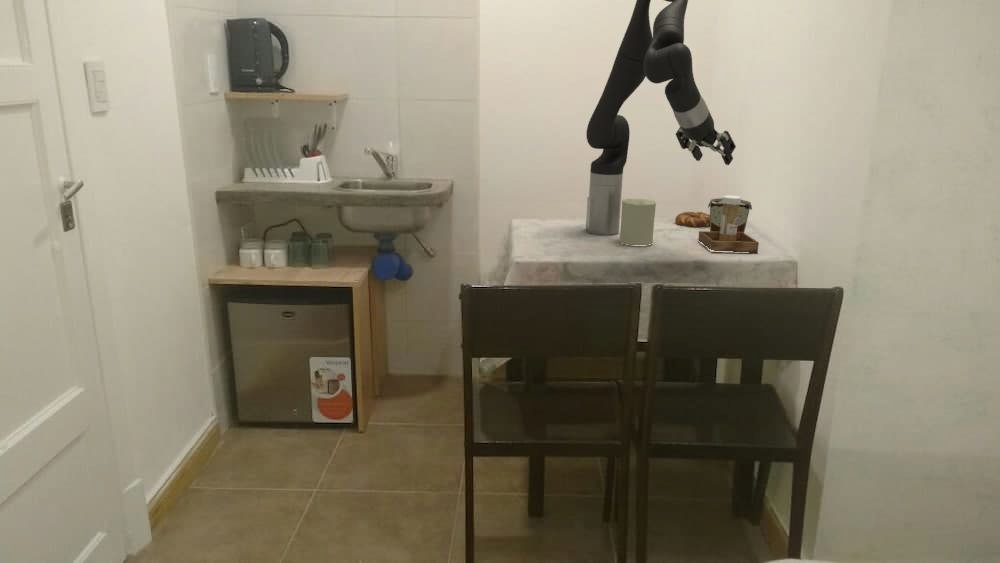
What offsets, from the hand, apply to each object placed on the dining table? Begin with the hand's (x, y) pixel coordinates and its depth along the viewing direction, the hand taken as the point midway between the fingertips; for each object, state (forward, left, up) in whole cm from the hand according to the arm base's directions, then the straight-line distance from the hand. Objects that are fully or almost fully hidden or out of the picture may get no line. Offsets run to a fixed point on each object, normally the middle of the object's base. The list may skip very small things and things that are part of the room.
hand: (714, 160), depth 184 cm
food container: (+13, +24, -25) cm, 37 cm away
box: (+8, +7, -24) cm, 27 cm away
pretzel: (+8, +36, -25) cm, 44 cm away
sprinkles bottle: (+8, +7, -24) cm, 26 cm away
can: (-16, +11, -25) cm, 31 cm away
